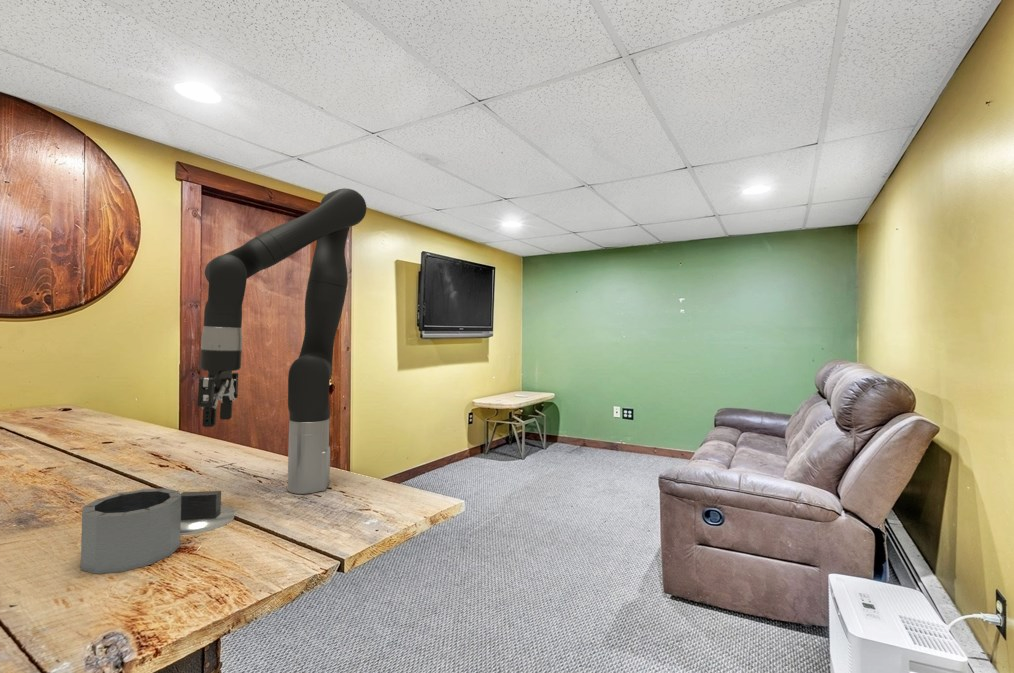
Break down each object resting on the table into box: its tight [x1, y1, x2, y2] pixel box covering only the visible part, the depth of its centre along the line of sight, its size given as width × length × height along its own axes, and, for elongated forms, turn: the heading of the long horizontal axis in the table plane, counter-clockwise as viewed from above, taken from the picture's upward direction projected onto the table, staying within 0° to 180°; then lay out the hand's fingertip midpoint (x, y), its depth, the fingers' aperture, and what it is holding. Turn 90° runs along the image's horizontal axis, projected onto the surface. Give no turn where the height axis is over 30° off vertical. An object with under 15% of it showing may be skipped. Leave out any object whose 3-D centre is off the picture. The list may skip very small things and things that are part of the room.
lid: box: [180, 490, 236, 536], centre depth 92 cm, size 12×12×6 cm
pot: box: [80, 487, 181, 575], centre depth 79 cm, size 13×13×9 cm
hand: (217, 422), depth 99 cm, fingers open, 8 cm apart
